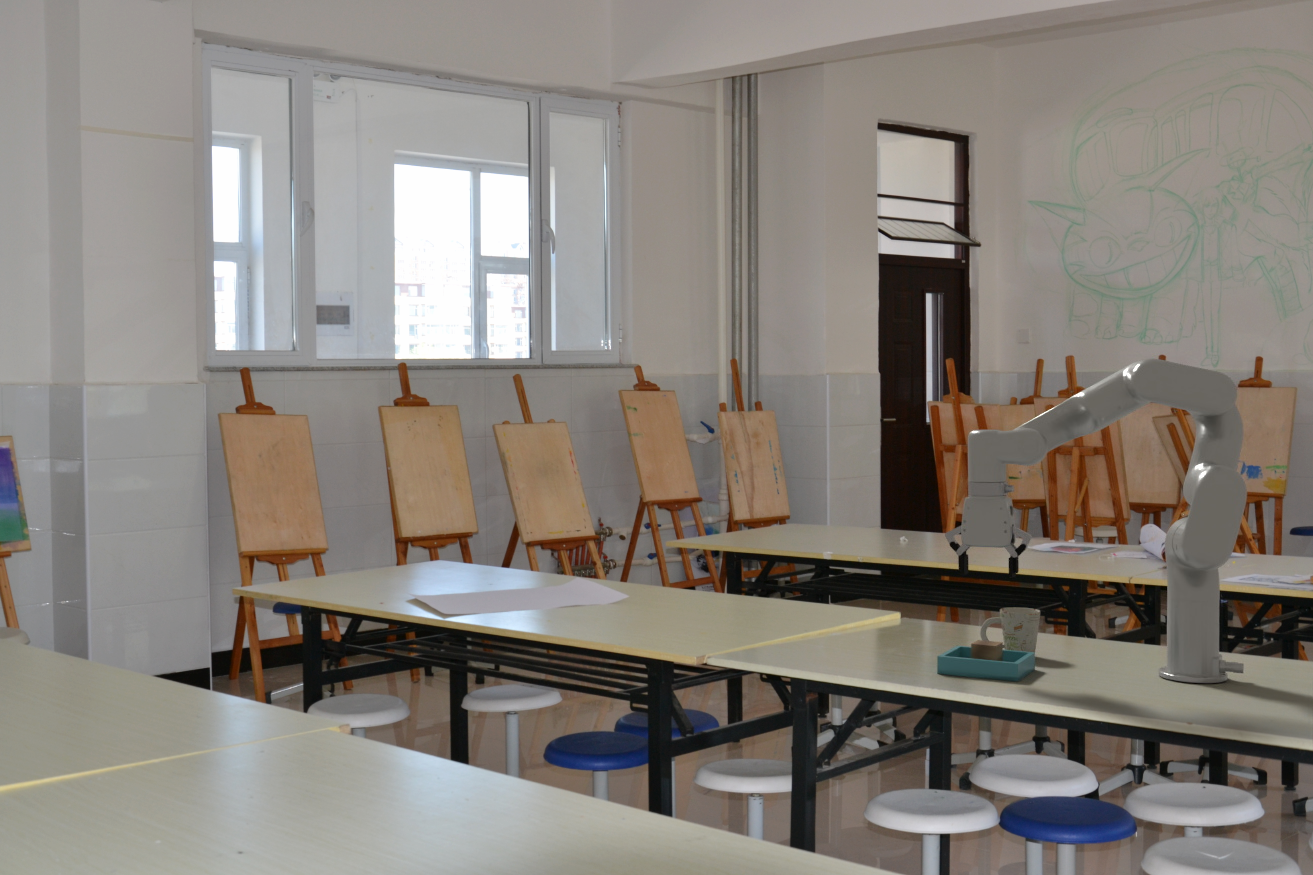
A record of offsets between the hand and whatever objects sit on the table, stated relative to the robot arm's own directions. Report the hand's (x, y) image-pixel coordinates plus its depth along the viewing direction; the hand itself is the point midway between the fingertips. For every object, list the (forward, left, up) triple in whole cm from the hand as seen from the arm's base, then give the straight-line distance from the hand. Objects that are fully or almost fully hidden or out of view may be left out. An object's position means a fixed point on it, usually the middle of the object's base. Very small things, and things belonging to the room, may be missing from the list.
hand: (988, 575), depth 258 cm
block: (0, 0, -19) cm, 19 cm away
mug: (0, -19, -20) cm, 27 cm away
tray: (0, 0, -19) cm, 19 cm away
